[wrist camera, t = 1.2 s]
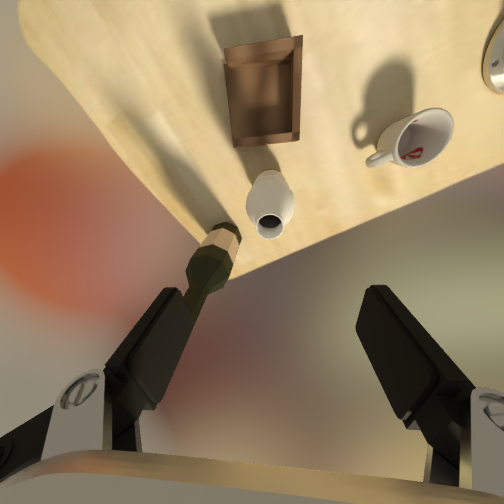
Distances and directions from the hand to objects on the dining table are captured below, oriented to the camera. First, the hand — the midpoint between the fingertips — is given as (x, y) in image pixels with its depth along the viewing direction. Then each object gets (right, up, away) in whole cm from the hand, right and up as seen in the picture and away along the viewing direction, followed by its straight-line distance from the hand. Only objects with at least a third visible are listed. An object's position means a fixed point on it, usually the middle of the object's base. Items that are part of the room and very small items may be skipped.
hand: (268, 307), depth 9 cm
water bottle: (+3, +18, +32) cm, 36 cm away
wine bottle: (-8, +7, +39) cm, 40 cm away
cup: (+25, +24, +26) cm, 43 cm away
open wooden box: (+1, +30, +24) cm, 39 cm away
